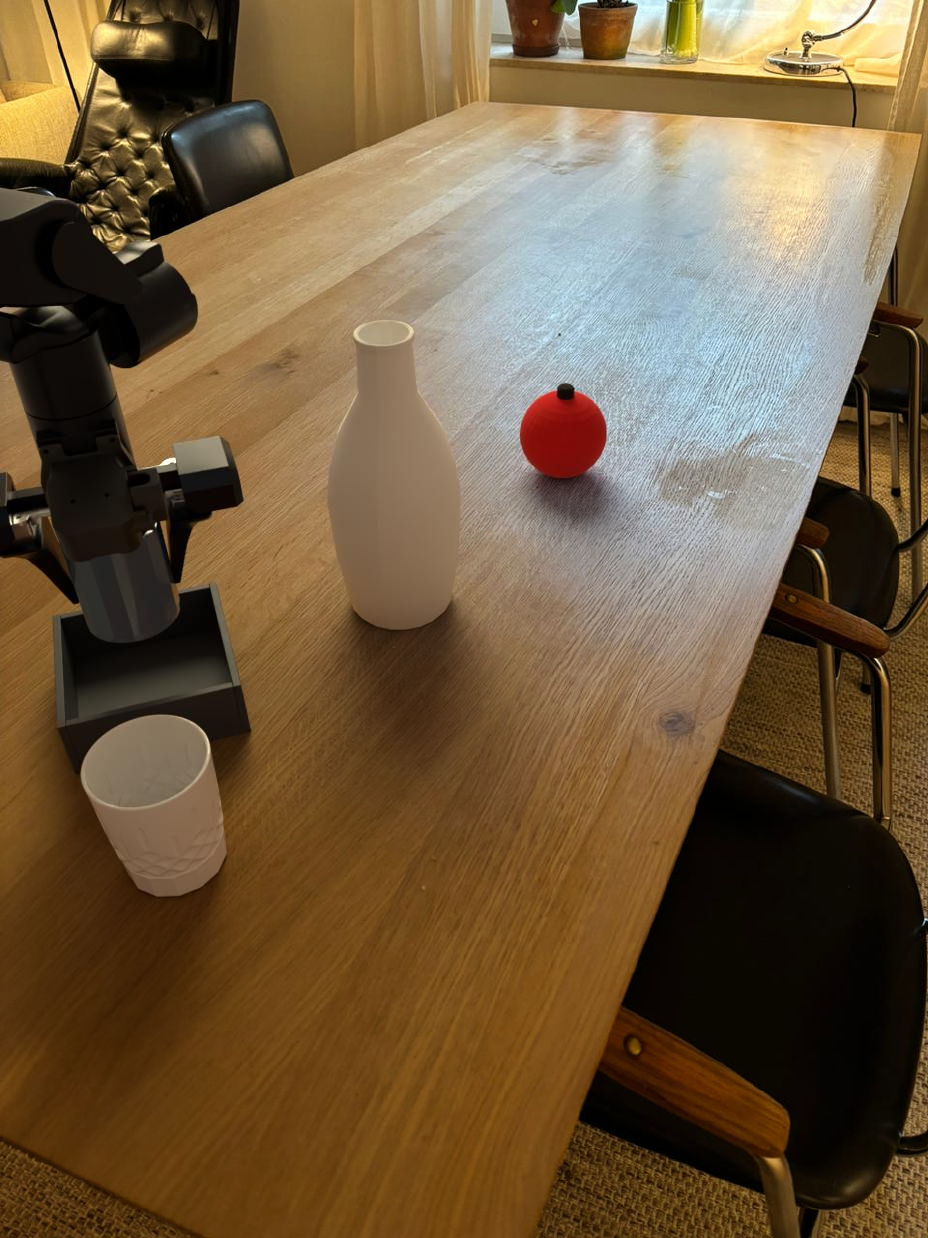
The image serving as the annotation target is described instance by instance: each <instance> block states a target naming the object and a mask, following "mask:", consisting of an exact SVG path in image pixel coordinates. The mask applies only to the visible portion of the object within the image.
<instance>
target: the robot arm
mask: <svg viewBox="0 0 928 1238" xmlns="http://www.w3.org/2000/svg"><path fill="white" fill-rule="evenodd" d="M0 308H14V309H15V308H16V309H17V310H15V311H13V312H11V313H10V312H6V311H2V310H0V362H4V363H8V365H9V368H10V371H11V374H12V377H13V381H14V384H15V386H16V389H17V393H18V396H19V400H20V401H21V404H22V407H23V411H24V415H25V417H26V420H27V424H28V426H29V429H30V432H31V436H32V438H33V441H34V444H35V447H36V450H37V453H38V457H39V460H40V462H41V463H40V486H35V487H29V488H24V489H16V486H15V483H14V480H13V477H12V475H11V474H10V473H9V472H8V471H3V472H0V558H1V559H11V558H16V559H22V560H26V561H28V562H29V563H30V564H32V565H33V566H35V568H37V569H38V570H39V571H40V572H42V573H43V574H44V575H45V576H46V577H47V579H48V580H49V581H50V582H51V583H52V584H53V585H54V586H55V587H56V588H57V589H58V590H59V591H60V592H61V593H62V595H64V596H65V598H66V599H68V601H69V602H71V604H72V605H80V603H79V600H78V597H77V594H76V591H75V588H74V585H73V582H72V579H71V576H70V574H69V571H68V568H67V565H66V562H65V559H64V556H63V553H62V550H63V552H64V554H65V556H66V557H67V558H68V559H69V560H70V561H73V562H85V561H89V560H90V559H92V558H96V557H101V556H106V555H111V554H116V553H120V554H126V553H130V552H133V551H135V550H137V549H138V548H139V547H140V546H141V544H142V540H143V539H142V533H141V532H145V531H150V530H156V528H155V524H156V523H157V522H160V523H161V522H165V529H166V538H167V551H168V555H169V559H170V563H171V569H172V574H173V577H174V581H175V584H176V585H177V584H181V582H182V577H183V573H184V572H183V571H184V566H185V559H186V554H187V548H188V543H189V541H190V538H191V534H192V531H193V529H194V527H196V526H197V524H199V523H200V522H205V521H208V520H210V519H211V518H212V516H213V512H216V511H223V510H228V509H232V508H238V507H239V506H240V505H241V504H242V503H243V502H245V499H244V494H243V489H242V483H241V479H240V474H239V470H238V466H237V464H236V461H235V457H234V454H233V450H232V447H231V444H230V442H229V441H228V440H227V439H225V438H223V437H222V436H220V435H213V436H207V437H201V438H195V439H190V440H184V441H178V442H173V443H171V448H172V452H173V456H174V457H171V458H167V459H165V460H163V461H162V462H161V464H158V465H152V466H147V467H143V468H142V467H141V468H138V467H137V464H136V459H135V456H134V452H133V448H132V444H131V440H130V436H129V434H128V428H127V426H126V422H125V418H124V414H123V410H122V407H121V402H120V398H119V395H118V391H117V385H116V383H115V379H114V376H113V371H112V368H111V367H112V366H113V367H116V368H119V369H122V370H123V369H125V370H126V369H132V368H135V367H137V366H139V365H141V364H142V363H143V362H145V361H147V360H148V359H150V358H152V357H153V356H155V355H156V354H158V353H160V352H162V351H163V350H165V349H166V348H168V347H169V346H171V345H173V344H174V343H176V342H177V341H179V340H181V339H182V338H184V337H186V336H187V335H189V334H190V333H191V332H192V331H193V330H194V329H195V327H196V325H197V323H198V318H199V305H198V300H197V295H195V293H194V292H192V290H191V287H190V285H189V284H188V282H187V281H186V279H185V277H184V276H183V275H182V274H181V273H180V271H178V269H177V268H176V267H174V266H173V265H172V264H171V263H169V262H168V261H167V260H165V256H164V251H163V246H162V244H161V243H159V242H154V241H150V240H149V241H148V240H143V239H134V240H132V241H130V242H129V243H126V244H125V245H123V247H121V248H120V249H119V250H118V251H116V252H115V253H114V252H113V251H112V250H111V249H109V247H108V246H107V245H106V244H105V243H104V242H103V241H102V240H101V239H100V238H99V237H98V236H97V235H95V233H94V230H93V227H92V225H91V223H90V222H89V219H88V218H87V216H86V214H85V213H84V212H83V211H82V210H81V209H80V208H79V205H78V203H77V202H75V201H73V200H69V199H68V198H61V197H56V196H49V195H44V194H38V193H34V192H33V193H32V192H26V191H20V190H16V189H15V190H14V189H9V188H3V187H0ZM18 308H19V309H18ZM49 517H50V519H49ZM58 540H59V541H58ZM59 543H60V544H59ZM60 545H61V547H62V550H61V547H60Z"/></svg>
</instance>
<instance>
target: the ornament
mask: <svg viewBox="0 0 928 1238" xmlns="http://www.w3.org/2000/svg"><path fill="white" fill-rule="evenodd" d="M575 389H576V388H575V386H574V385H573V384H572V383H568V382H563V383H560V384H559V385H558V386H557V387H556V390H552V391H549V392H546V393H544V394H542V395H540V396H539V397H538V398H536V399H535V400H534V401H533V402H532V403H531V404H530V405H529V407H527V409H526V411H525V413H524V415H523V417H522V419H521V422H520V426H519V427H520V429H519V443H520V447H521V449H522V453H523V455H524V457H525V458H526V460H527V461H528V463H529V464H530V465H531V466H532V467H533V468H534V469H536V471H538V472H540V473H541V474H543V475H545V476H548V477H551V478H556V479H569V478H574V477H577V476H580V475H582V474H584V473H586V472H587V471H589V470H590V469H591V468H592V467H593V466H595V464H596V463H597V462H598V460H599V459H600V458H601V457H602V454H603V452H604V450H605V447H606V444H607V440H608V432H607V431H608V429H607V428H608V427H607V422H606V419H605V416H604V414H603V412H602V410H601V408H600V407H599V406H598V405H597V404H596V402H595V401H594V400H593V399H592V398H591V397H588V396H587V395H585V394H583V393H582V392H579V391H576V390H575Z"/></svg>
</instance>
